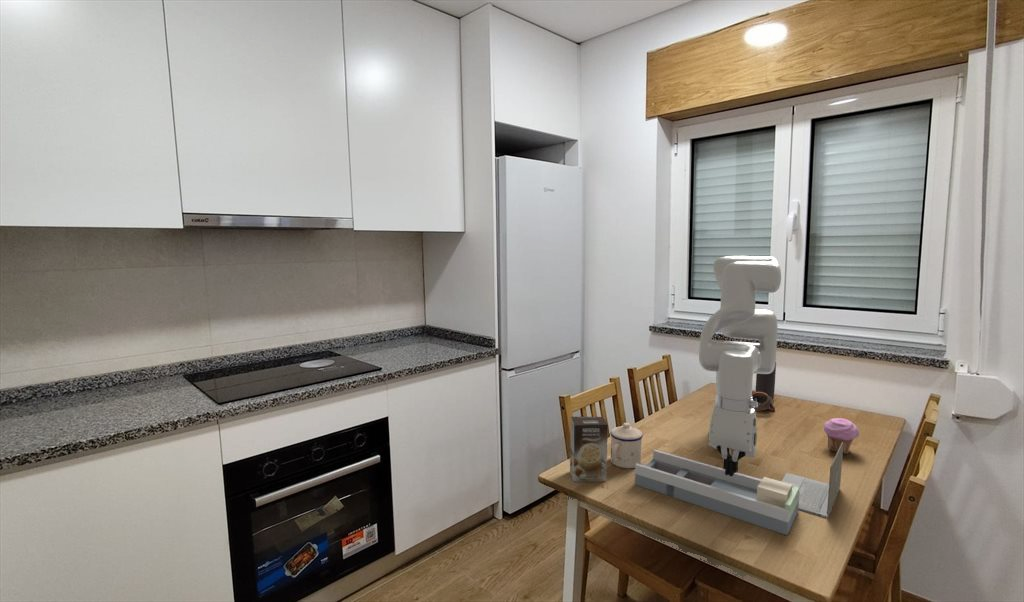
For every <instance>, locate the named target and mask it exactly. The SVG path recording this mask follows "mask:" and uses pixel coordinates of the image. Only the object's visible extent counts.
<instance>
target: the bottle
mask: <svg viewBox="0 0 1024 602" xmlns="http://www.w3.org/2000/svg"><path fill="white" fill-rule="evenodd" d="M776 369H777V362H775V368H774V370H773V372H772V373H770V374H756V373H755V374H756V375H755V392H763V393H766V394H767V395H769V397H771V398H772V399H773V400H774V399H775V386H776V373H777V372H776ZM760 397H762V396H760Z"/></svg>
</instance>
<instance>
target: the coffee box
mask: <svg viewBox="0 0 1024 602" xmlns="http://www.w3.org/2000/svg"><path fill="white" fill-rule="evenodd" d="M570 418H571V419H570V447H569V448H570V449H569V451H570V453H569V473H570V477H571V479H572V481H573V482H575V483H576V482H578V483H579V482H581V483H583V482H587V483H588V482H589V483H590V482H593V483H594V482H607V469H608V468H607V464H608V462H607V461H608V460H607V459H608V432H609V431H608V430H609V429H608V427H609V425H608V422H607V421H606V419H604V417H603V416H571V417H570Z"/></svg>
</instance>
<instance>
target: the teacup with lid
mask: <svg viewBox="0 0 1024 602" xmlns="http://www.w3.org/2000/svg"><path fill="white" fill-rule="evenodd" d="M643 437H644V436H643V433H642V431H641V430H640V429H638V428H636V427H633V426H631V424H630V423H629V422H624V423H623V424H622V425H621V426H616V427H613V428H612V429H611V430H610V462H611V464H613V465H614V466H616V467H618V468H622V469H635V465H636V464H637V463H638V464H641V465H642V445H643V443H642V441H643Z"/></svg>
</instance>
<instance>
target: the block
mask: <svg viewBox="0 0 1024 602" xmlns="http://www.w3.org/2000/svg"><path fill="white" fill-rule="evenodd" d="M761 479H762V481H761V482H760V483H759V485H758V486H757V500H759V501H762V502H766V503H769V504H772V505H775V506H779V507H782V508H785V503H786V501H787V499H788V498H789V496H790V494H791V492H792V484H788V483H785V482H781V481H782V480H777V479H773V478H771V477H770V478H769V477H766V476H763V478H761Z"/></svg>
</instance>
